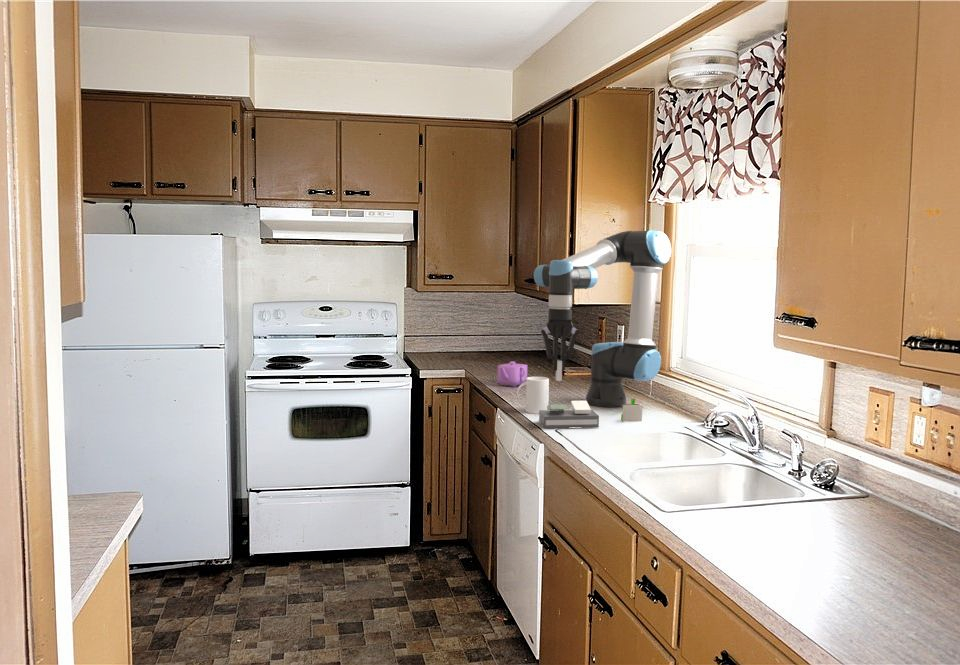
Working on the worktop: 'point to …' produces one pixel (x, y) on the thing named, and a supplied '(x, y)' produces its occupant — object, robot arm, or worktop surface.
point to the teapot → (512, 374)
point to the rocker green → (556, 407)
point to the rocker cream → (580, 407)
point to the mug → (536, 394)
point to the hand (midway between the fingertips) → (558, 380)
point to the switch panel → (567, 419)
